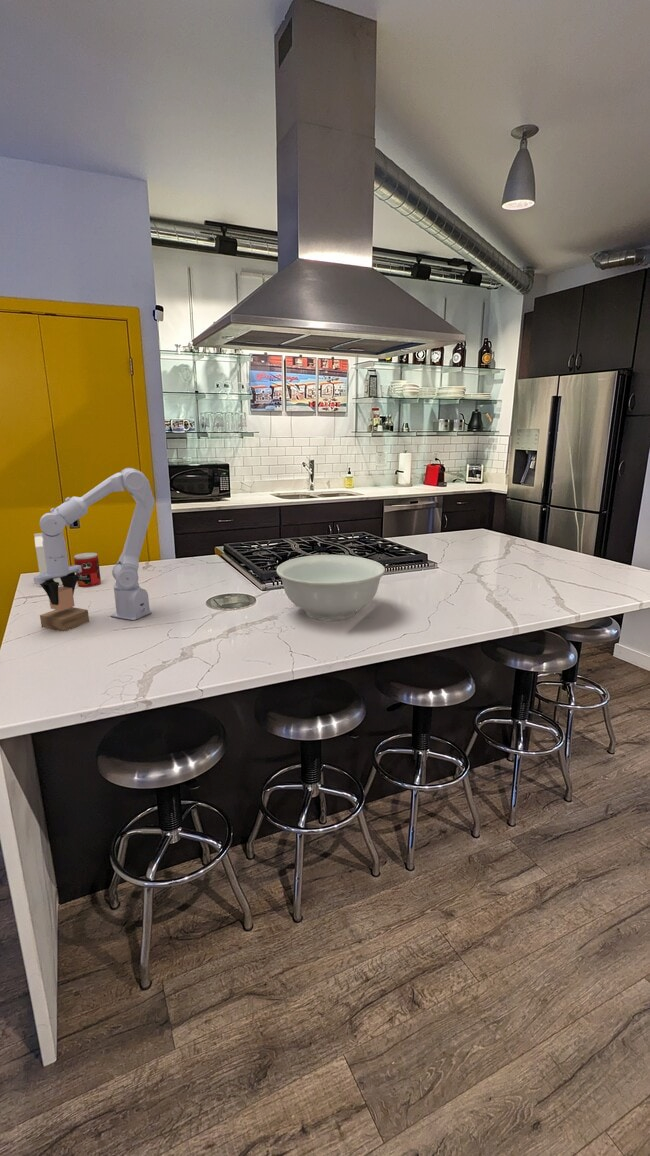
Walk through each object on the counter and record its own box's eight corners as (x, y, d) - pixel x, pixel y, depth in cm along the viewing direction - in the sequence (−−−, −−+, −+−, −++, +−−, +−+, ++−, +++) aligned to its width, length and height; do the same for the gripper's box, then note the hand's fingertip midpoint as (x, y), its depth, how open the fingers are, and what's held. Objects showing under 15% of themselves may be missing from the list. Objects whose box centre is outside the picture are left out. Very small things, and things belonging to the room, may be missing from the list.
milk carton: (42, 582, 204) (34, 532, 199) (63, 580, 207) (56, 530, 202) (41, 587, 198) (33, 535, 192) (63, 585, 200) (56, 533, 195)
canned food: (73, 585, 200) (69, 556, 197) (91, 580, 206) (87, 551, 203) (87, 588, 196) (83, 558, 193) (105, 582, 203) (102, 553, 200)
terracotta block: (74, 605, 160) (72, 587, 159) (61, 610, 156) (58, 592, 155) (63, 604, 162) (61, 586, 161) (50, 608, 158) (47, 590, 157)
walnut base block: (89, 622, 163) (87, 609, 162) (64, 632, 155) (62, 619, 154) (67, 618, 167) (65, 605, 165) (41, 628, 159) (39, 615, 158)
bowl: (377, 635, 150) (378, 584, 146) (264, 627, 157) (262, 578, 153) (388, 599, 181) (389, 556, 177) (293, 594, 187) (292, 552, 183)
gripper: (67, 549, 163) (73, 593, 167) (23, 560, 150) (30, 607, 154) (84, 551, 160) (90, 596, 164) (41, 562, 148) (48, 610, 151)
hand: (62, 601), depth 159 cm, fingers closed on terracotta block, 4 cm apart
